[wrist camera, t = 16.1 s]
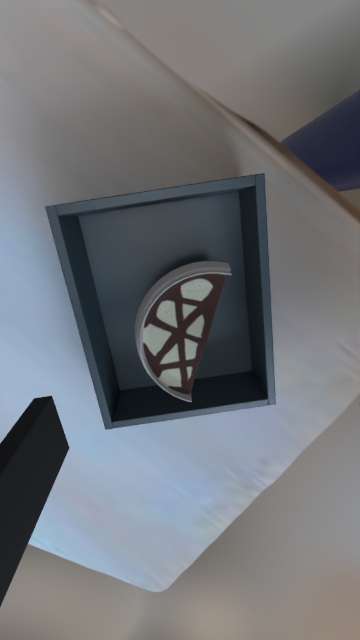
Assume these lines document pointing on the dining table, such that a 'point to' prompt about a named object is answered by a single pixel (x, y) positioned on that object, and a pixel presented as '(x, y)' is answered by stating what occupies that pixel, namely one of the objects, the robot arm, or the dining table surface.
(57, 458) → the robot arm
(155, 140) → the dining table surface
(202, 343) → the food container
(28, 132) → the dining table surface
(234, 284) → the tote
